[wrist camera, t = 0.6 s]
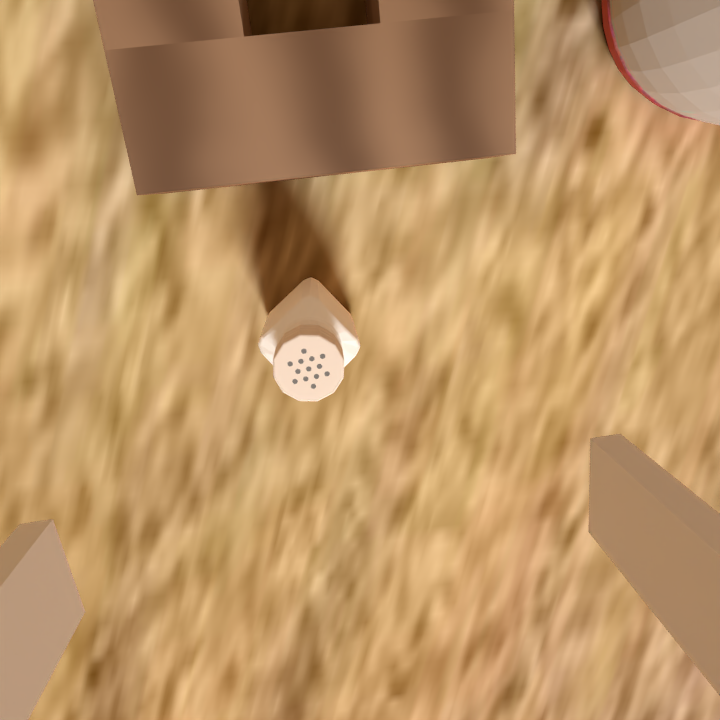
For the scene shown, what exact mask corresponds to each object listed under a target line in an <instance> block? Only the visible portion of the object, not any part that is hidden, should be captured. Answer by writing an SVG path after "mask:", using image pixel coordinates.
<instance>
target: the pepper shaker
mask: <svg viewBox="0 0 720 720" xmlns="http://www.w3.org/2000/svg"><path fill="white" fill-rule="evenodd" d="M258 345H259V348H260V351H261V353H262V354H263V355H264V356H265V357H266V358H267V359H268V360H269V362H270V363H271V364H272V365H273V377H274V379H275V380H276V382H277V384H278V385H279V387H280V389H281V390H282V392H283V393H285V394H287V395H289V396H291V397H293V398H294V399H296V400H298V401H319V400H321V399H323V398H325V397H327V396H328V395H330V394H332V393H334V392H335V390H336V389H337V387H338V386H339V384H340V383H341V381H342V380H343V378H344V367H345V366H346V365H347V364H348V363H349V362H350V361H351V360H352V359H353V358H354V357H355V356H356V355H357V353H358V350H359V348H360V343H359V339H358V336H357V332H356V328H355V325H354V321H353V319H352V316H351V314H350V313H349V312H348V311H347V310H346V309H345V308H344V307H343V306H342V305H341V304H340V302H339V301H338V300H337V299H336V298H335V297H334V296H333V295H332V294H331V293H330V292H329V291H328V290H327V289H326V288H325V287H324V286H323V285H322V284H321V283H320V282H319V281H318V280H316V279H314V278H312V277H310V278H307V279H305V280H303V281H302V282H301V283H300V284H299V285H298V286H297V287H296V288H295V289H294V290H293V291H291V292H290V293H289V294H288V295H287V296H286V297H285V298H284V299H283V300H282V301H281V302H280V303H279V304H278V305H277V306H276V307H275V308H274V309H273V310H272V311H270V312H269V315H268V317H267V319H266V322H265V325H264V328H263V331H262V334H261V336H260V339H259V342H258Z"/></svg>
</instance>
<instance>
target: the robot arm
mask: <svg viewBox="0 0 720 720" xmlns="http://www.w3.org/2000/svg"><path fill="white" fill-rule="evenodd" d="M589 533H590V534H591V536H592V537H593V538H594V539H595V541H596V542H597V543H598V544H599V545H600V547H601V548H602V549H603V550H604V552H605V553H606V554H607V555H608V557H609V558H610V559H611V560H612V562H613V563H614V564H615V565H616V567H617V568H618V569H619V570H620V572H621V573H622V574H623V575H624V577H625V578H626V579H627V580H628V582H629V583H630V584H631V585H632V587H633V588H634V589H635V590H636V592H637V593H638V594H639V595H640V597H641V598H642V599H643V600H644V602H645V603H646V604H647V605H648V607H649V608H650V609H651V610H652V612H653V613H654V614H655V615H656V617H657V618H658V619H659V620H660V622H661V623H662V624H663V625H664V627H665V628H666V629H667V630H668V632H669V633H670V634H671V635H672V637H673V638H674V639H675V640H676V642H677V643H678V644H679V645H680V647H681V648H682V649H683V650H684V652H685V653H686V654H687V655H688V657H689V658H690V659H691V660H692V662H693V663H694V664H695V665H696V667H697V668H698V669H699V670H700V672H701V673H702V674H703V675H704V677H705V678H706V679H707V680H708V682H709V683H710V684H711V685H712V687H713V688H714V689H715V690H716V692H717V693H718V694H719V695H720V514H719V513H718V512H717V511H716V510H714V509H713V508H712V507H711V506H709V505H708V504H707V503H706V502H704V501H703V500H702V499H701V498H699V497H698V496H697V495H696V494H694V493H693V492H692V491H691V490H689V489H688V488H687V487H686V486H684V485H683V484H682V483H681V482H680V481H678V480H677V479H676V478H675V477H673V476H672V475H671V474H670V473H668V472H667V471H666V470H665V469H663V468H662V467H661V466H660V465H658V464H657V463H656V462H655V461H653V460H652V459H651V458H650V457H648V456H647V455H646V454H645V453H643V452H642V451H641V450H640V449H639V448H637V447H636V446H635V445H634V444H632V443H631V442H630V441H629V440H627V439H626V438H625V437H624V436H622V435H621V434H616V435H609V436H602V437H596V438H590V484H589ZM84 613H85V610H84V607H83V604H82V601H81V599H80V596H79V593H78V590H77V587H76V584H75V581H74V579H73V576H72V573H71V570H70V567H69V564H68V561H67V559H66V556H65V553H64V550H63V547H62V544H61V542H60V539H59V536H58V533H57V530H56V527H55V524H54V522H53V519H50V520H44V521H37V522H30V523H24V524H19V525H18V527H17V528H16V529H15V530H14V531H13V533H12V534H11V535H10V536H9V537H8V538H7V540H6V541H5V542H4V543H3V544H2V545H1V547H0V720H28V719H29V717H30V715H31V713H32V711H33V710H34V708H35V706H36V704H37V702H38V700H39V698H40V696H41V694H42V692H43V691H44V689H45V687H46V685H47V683H48V681H49V679H50V677H51V675H52V673H53V672H54V670H55V668H56V666H57V664H58V662H59V660H60V658H61V656H62V655H63V653H64V651H65V649H66V647H67V645H68V643H69V641H70V639H71V637H72V636H73V634H74V632H75V630H76V628H77V626H78V624H79V622H80V620H81V618H82V617H83V615H84Z"/></svg>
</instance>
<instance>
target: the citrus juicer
mask: <svg viewBox="0 0 720 720" xmlns="http://www.w3.org/2000/svg"><path fill="white" fill-rule="evenodd" d="M602 15H603V28H604V32H605V36H606V40H607V44H608V47H609V51H610V53H611V55H612V57H613V59H614V61H615V63H616V65H617V67H618V69H619V71H620V72H621V73H622V75H623V76H624V77H625V78H626V80H627V81H628V82H629V84H630V85H631V86H632V87H633V88H635V89H636V90H637V91H638V92H640V93H641V94H642V95H643V96H645V97H646V98H647V99H648V100H650V101H651V102H652V103H654V104H656V105H657V106H659V107H661V108H663V109H665V110H667V111H669V112H671V113H673V114H676V115H678V116H680V117H684V118H689V119H694V120H699V121H702V122H707V123H712V124H717V125H720V0H602Z"/></svg>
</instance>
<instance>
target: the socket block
mask: <svg viewBox="0 0 720 720" xmlns="http://www.w3.org/2000/svg"><path fill="white" fill-rule="evenodd" d="M93 2H94V6H95V10H96V15H97V19H98V24H99V28H100V33H101V37H102V42H103V46H104V50H105V55H106V59H107V64H108V68H109V73H110V77H111V82H112V86H113V90H114V95H115V99H116V104H117V108H118V113H119V117H120V122H121V126H122V130H123V135H124V139H125V144H126V148H127V153H128V157H129V162H130V166H131V170H132V175H133V179H134V184H135V188H136V193H137V195H147V194H163V193H173V192H182V191H191V190H200V189H209V188H219V187H228V186H237V185H246V184H255V183H264V182H273V181H283V180H292V179H301V178H310V177H319V176H328V175H337V174H346V173H356V172H365V171H374V170H383V169H392V168H401V167H410V166H420V165H429V164H438V163H447V162H456V161H465V160H474V159H483V158H491V157H497V156H504V155H511V154H516V129H515V45H514V0H365V3H366V15H367V25H357V26H347V27H337V28H327V29H317V30H306V31H296V32H286V33H276V34H265V35H255V36H252V32H251V25H250V18H249V11H248V5H247V0H93Z"/></svg>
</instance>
